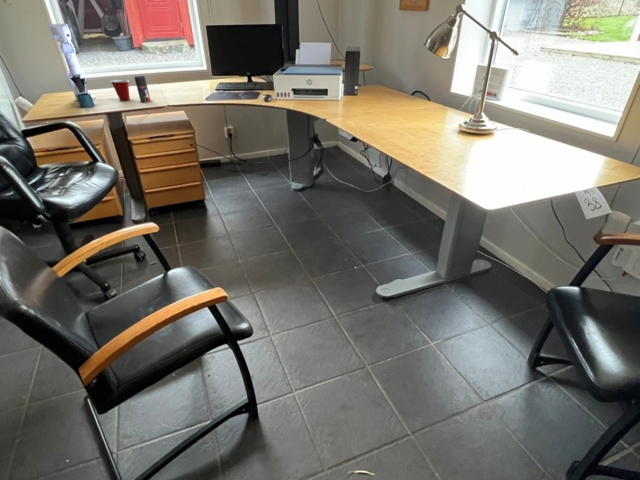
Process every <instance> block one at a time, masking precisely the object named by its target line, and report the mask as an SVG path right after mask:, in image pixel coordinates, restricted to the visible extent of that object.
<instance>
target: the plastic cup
mask: <svg viewBox="0 0 640 480" xmlns="http://www.w3.org/2000/svg"><path fill="white" fill-rule="evenodd" d="M129 82H130V80H129V79H114V80H110V83H111V85H112V86H113V88H114V91H115V92H116V95H117V97H118V99H119V100H120V101H122V102H123V101H129V100H130V87H129Z"/></svg>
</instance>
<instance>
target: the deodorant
mask: <svg viewBox="0 0 640 480" xmlns="http://www.w3.org/2000/svg"><path fill="white" fill-rule="evenodd" d="M134 81H135V85H136V88H137V93H138V97H139V100H140V103H141V104H146V103H151V101H152V100H151V97H150V92H149V88H148V85H147V80H146V77H145V75H135V76H134Z"/></svg>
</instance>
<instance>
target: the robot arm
mask: <svg viewBox="0 0 640 480" xmlns="http://www.w3.org/2000/svg"><path fill="white" fill-rule="evenodd" d="M48 26H49V27H48V28H49V30H50V32H51V35H52V37H53V39H54V41H56V42H58V43H59V48H60V51H61V53H62V55H63V57H64V60H65V62H66V65H67V68H68V70H67V72H66V77H67V80H68V84H69V85H70V87H72V93H73V95H74V98H75V99H74V101H76V102H78V100H77V97H76V95H77V94H82V93H79V90H78V87H77V85H76V83H77V84H78V85H79V88H80V90H81V91H83V90H85V91H86V92H85V93H89V91H88V88H87V85H88V80H87V78H86V74H85V73H84V72H83V70H81V68H80V64H79V62H78V59H77V55H76V49H75V47H74V44H73V43H72V41H71V40H72V35H71V30H70V28H69V24H67V23H66V22H65V23H49V24H48ZM92 100H93V101H94V99H92Z"/></svg>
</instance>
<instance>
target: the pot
mask: <svg viewBox="0 0 640 480" xmlns="http://www.w3.org/2000/svg"><path fill="white" fill-rule="evenodd" d="M76 97H77V100H78V101H77V103H78V106H79V108H81V109H88V108H89V109H90V108H93V107H95V103H94V100H96V99H97V97H96V96H95V95H92V94H91V93H90V92H88V93H82V94H77V95H76ZM92 99H93V100H92Z"/></svg>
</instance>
